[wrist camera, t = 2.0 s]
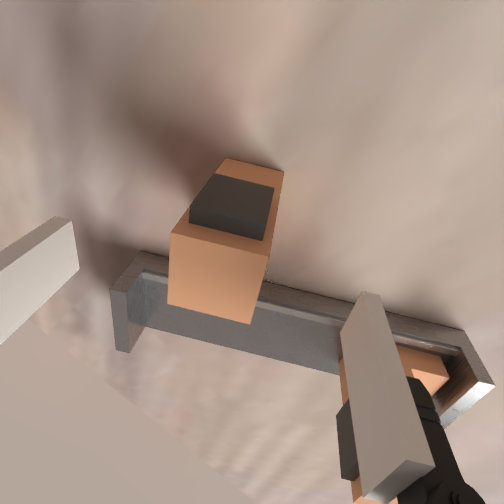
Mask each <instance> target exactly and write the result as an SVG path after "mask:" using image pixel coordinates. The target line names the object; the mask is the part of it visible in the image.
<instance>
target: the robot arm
mask: <svg viewBox="0 0 504 504" xmlns="http://www.w3.org/2000/svg"><path fill="white" fill-rule="evenodd" d="M78 270H79V262H78V256H77V250H76V244H75V237H74V231H73V225H72V220H68V219H64V218H60V217H56V216H55V217H53V218H51V219H50V220H48V221H47V222H45V223H44V224H42V225H41V226H39V227H38V228H36V229H34V230H33V231H31V232H30V233H28V234H27V235H25V236H24V237H22V238H21V239H19V240H18V241H16V242H14V243H13V244H11V245H10V246H8V247H7V248H5V249H4V250H2V251H1V252H0V345H1V344H2V343H3V342H4V341H5V340H6V339H7V338H8V337H9V336H10V335H11V334H12V333H13V332H14V331H15V330H17V329H18V328H19V327H20V326H21V325H22V323H24V322H25V321H26V320H27V319H28V318H29V317H30V316H31V315H32V314H33V313H34V312H35V311H36V310H37V309H38V308H39V307H40V306H42V305H43V304H44V303H45V302H46V301H47V300H48V299H49V298H50V297H51V296H52V295H53V294H54V293H55V292H56V291H57V290H58V289H59V288H60V287H61V286H62V285H63V284H64V283H66V282H67V281H68V280H69V279H70V278H71V277H72V276H73V275H74V274H75V273H76V272H77V271H78ZM340 337H341V344H342V351H343V358H344V366H345V373H346V380H347V387H348V394H349V401H350V408H351V415H352V422H353V430H354V437H355V444H356V451H357V458H358V465H359V472H360V479H361V487H362V494H363V498H365V499H369V500H373V501H377V502H381V503H385V504H388V503H390V502H391V501H392V500H393V499H395V498H396V497H397V501H398V504H485V502H484V500H483V499H482V498H481V497H480V495H479V494H478V493H477V492H476V491H475V490H474V489H473V488H472V487H471V486H469V485H468V484H466V483H465V482H464V480H463V478H462V475H461V473H460V471H459V468H458V465H457V463H456V460H455V458H454V455H453V452H452V450H451V447H450V444H449V442H448V439H447V437H446V434H445V431H444V429H443V426H442V425H441V421H440V418H439V416H438V413H437V412H436V408H435V405H434V403H433V400H432V397H431V395H430V393H429V392H428V390H427V389H426V387H425V386H424V385H423V383H422V382H421V381H420V379H417V378H413V377H409V376H406V375H405V372H404V369H403V366H402V363H401V360H400V357H399V354H398V351H397V348H396V345H395V342H394V338H393V335H392V332H391V329H390V326H389V323H388V320H387V317H386V314H385V311H384V308H383V305H382V302H381V299H380V296H379V295H376V294H372V293H368V292H364V291H362V293H361V295H360V296H359V298H358V300H357V302H356V304H355V306H354V307H353V309H352V311H351V313H350V315H349V317H348V319H347V320H346V322H345V324H344V326H343V328H342V330H341V332H340Z"/></svg>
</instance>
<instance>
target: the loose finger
mask: <svg viewBox="0 0 504 504" xmlns="http://www.w3.org/2000/svg"><path fill="white" fill-rule="evenodd" d="M283 176H284V172H282V171H277V170H273V169H269V168H265V167H261V166H257V165H253V164H249V163H245V162H241V161H237V160H233V159H228V158H225V160H224V161H223V162H222V164H221V165H220V166H219V168H218V169H217V170H216V172H215V173H214V174H213V176H212V177H211V178H210V180H209V181H208V182H207V184H206V185H205V186H204V188H203V189H202V190H201V192H200V193H199V194H198V196H197V197H196V198H195V200H194V201H193V203H192V204H191V205H190V207H189V208H188V210H187V211H186V212H185V214H184V215H183V216H182V218H181V219H180V220H179V222H178V223H177V224H176V226H175V227H174V228H173V230H172V231H171V233H170V254H169V276H168V298H167V304H170V305H174V306H178V307H182V308H186V309H190V310H194V311H198V312H202V313H206V314H210V315H214V316H218V317H222V318H226V319H230V320H234V321H238V322H242V323H246V324H250V323H251V319H252V316H253V312H254V309H255V305H256V302H257V298H258V295H259V291H260V288H261V284H262V281H263V277H264V274H265V270H266V267H267V263H268V259H269V255H270V250H271V244H272V238H273V233H274V227H275V221H276V216H277V210H278V204H279V199H280V193H281V187H282V182H283Z"/></svg>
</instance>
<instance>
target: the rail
mask: <svg viewBox="0 0 504 504" xmlns="http://www.w3.org/2000/svg"><path fill="white" fill-rule="evenodd" d="M168 276H169V258H168V257H164V256H160V255H156V254H152V253H148V252H144V251H140V253H139V254H138V255H137V256H136V258H135V259H134V260H133V261H132V262H131V264H130V265H129V266H128V267H127V269H126V270H125V271H124V272H123V273H122V275H121V276H120V277H119V278H118V280H117V281H116V282H115V283H114V284H113V286H112V287H111V288H110V298H111V308H112V317H113V327H114V336H115V346H116V350H119V351H122V352H126V353H130V352H131V350H132V348H133V347H134V345H135V343H136V342H137V340H138V338H139V336H140V335H141V333H142V331H143V330H144V328H145V327H149V328H153V329H157V330H161V331H165V332H169V333H173V334H177V335H181V336H185V337H189V338H193V339H197V340H201V341H205V342H209V343H213V344H217V345H221V346H225V347H229V348H233V349H237V350H241V351H245V352H249V353H253V354H257V355H261V356H265V357H269V358H273V359H277V360H281V361H284V362H288V363H292V364H296V365H300V366H304V367H308V368H312V369H316V370H320V371H324V372H328V373H332V374H336V375H340V372H339V363H340V361H341V359H342V358H343V351H342V344H341V337H340V332H341V330H342V328H343V326H344V324H345V322H346V320H347V319H348V317H349V315H350V313H351V311H352V309H353V307H354V306H355V304H353V303H349V302H345V301H341V300H337V299H333V298H329V297H325V296H321V295H317V294H313V293H309V292H305V291H301V290H297V289H293V288H289V287H285V286H281V285H277V284H273V283H269V282H265V281H262V284H261V288H260V291H259V295H258V298H257V302H256V305H255V309H254V312H253V316H252V319H251V323H250V324H246V323H242V322H238V321H234V320H230V319H226V318H222V317H218V316H214V315H210V314H206V313H202V312H198V311H194V310H190V309H186V308H182V307H178V306H174V305H170V304H167V298H168ZM385 314H386V317H387V320H388V323H389V326H390V329H391V332H392V335H393V338H394V342H395V345H398V346H402V347H406V348H410V349H414V350H418V351H422V352H426V353H430V354H434V355H438V356H440V357H441V359H442V361H443V364H444V366H445V368H446V371H447V373H448V375H449V377H450V379H449V380H448V381H447V382H446V383H445V384H443V385H442V386H441V387H440V388H439V389H438V390H437V391H436V392H435V393H434V394H433V395H432V396H431V397H432V400H433V403H434V405H435V408H436V412H437V413H438V416H439V418H440V421H441V425H442V426H443V429H445V428H446V427H447V426H448V425H450V424H451V423H452V422H453V421H454V420H456V419H457V418H458V417H459V416H460V415H461V414H463V413H464V412H465V411H466V410H467V409H469V408H470V407H471V406H472V405H473V404H475V403H476V402H477V401H478V400H479V399H481V398H482V397H483V396H484V395H485V394H486V393H488V392H489V391H490V390H491V389H492V388H494V387H495V384H494V382H493V381H492V379H491V377H490V375H489V374H488V372H487V370H486V368H485V366H484V365H483V363H482V361H481V359H480V358H479V356H478V354H477V352H476V351H475V349H474V347H473V345H472V344H471V342H470V340H469V338H468V336H467V335H466V333H465V331H462V330H458V329H454V328H450V327H446V326H442V325H438V324H434V323H429V322H425V321H421V320H417V319H413V318H409V317H405V316H401V315H397V314H393V313H389V312H385Z"/></svg>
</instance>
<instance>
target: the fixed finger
mask: <svg viewBox="0 0 504 504" xmlns="http://www.w3.org/2000/svg"><path fill="white" fill-rule="evenodd" d="M396 348H397V351H398V354H399V357H400V360H401V363H402V366H403V369H404V372H405V375H406V376H409V377H413V378H417V379H420V381H421V382H422V383H423V385H424V386H425V387H426V389H427V390H428V392H429V393H430V395H431V396H432V395H433V394H434V393H435V392H436V391H437V390H438V389H439V388H440V387H441V386H442V385H443V384H445V383H446V382H447V381H448V380H449V379H450V377H449V375H448V373H447V371H446V368H445V366H444V364H443V361H442V359H441V357H440V356H438V355H434V354H430V353H426V352H422V351H418V350H414V349H410V348H406V347H402V346H398V345H396ZM339 372H340V382H341V391H342V401H343V407H342V408H341V410H340V411H339V412H338V414H337V415H336V420H337V432H338V444H339V455H340V467H341V478H343V479H346V480H350V481H351V486H352V495H353V503H356V504H385V503H381V502H377V501H373V500H369V499H365V498H363V494H362V487H361V479H360V472H359V465H358V458H357V451H356V444H355V437H354V430H353V422H352V415H351V408H350V401H349V394H348V387H347V380H346V373H345V366H344V358H342V359H341V361H340V363H339ZM388 504H398V501H397V497H396V498H395V499H393V500H392V501H391V502H390V503H388Z"/></svg>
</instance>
